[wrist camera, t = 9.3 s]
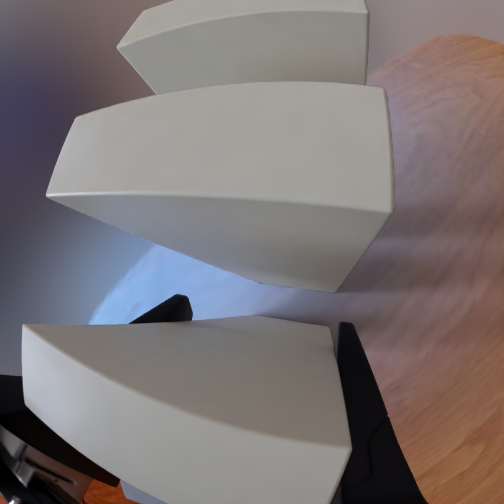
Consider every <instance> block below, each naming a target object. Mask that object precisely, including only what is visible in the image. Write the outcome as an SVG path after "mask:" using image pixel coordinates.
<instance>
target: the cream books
mask: <svg viewBox="0 0 504 504" xmlns="http://www.w3.org/2000/svg"><path fill="white" fill-rule="evenodd" d="M369 21H370V14H369V10H368V6H367V3H366V0H174V1H171V2H168V3H165V4H162V5H159V6H156V7H153V8H150V9H148V10H145V11H143V12H142V14H141V15H140V16H139V17H138V19H137V20H136V21H135V22H134V24H133V25H132V26H131V28H130V29H129V30H128V32H127V33H126V34H125V36H124V37H123V39H122V40H121V41H120V43H119V44H118V46H117V49H118V50H119V51H120V52H121V54H122V55H123V56H124V57H125V58H126V59H127V61H128V62H129V63H130V64H131V65H132V66H133V67H134V68H135V70H136V71H137V72H138V73H139V74H140V76H141V77H142V78H143V79H144V80H145V81H146V83H147V84H148V85H149V86H150V87H151V88H152V89H153V91H154V92H155V93H156V94H157V95H154V96H149V97H145V98H140V99H136V100H132V101H128V102H124V103H120V104H116V105H113V106H109V107H106V108H102V109H99V110H96V111H93V112H90V113H87V114H84V115H81V116H78V117H77V118H76V119H75V121H74V123H73V125H72V127H71V129H70V131H69V134H68V136H67V138H66V141H65V143H64V145H63V149H62V150H61V153H60V155H59V158H58V161H57V163H56V166H55V169H54V172H53V175H52V178H51V181H50V184H49V187H48V190H47V193H46V196H47V197H48V198H50V199H52V200H54V201H56V202H58V203H61V204H63V205H66V206H68V207H70V208H72V209H75V210H77V211H79V212H82V213H84V214H86V215H89V216H91V217H93V218H96V219H98V220H101V221H103V222H105V223H108V224H110V225H113V226H115V227H117V228H120V229H122V230H125V231H127V232H129V233H132V234H134V235H137V236H139V237H142V238H144V239H147V240H150V241H152V242H154V243H157V244H159V245H162V246H164V247H167V248H169V249H172V250H174V251H177V252H179V253H182V254H184V255H187V256H189V257H192V258H195V259H197V260H200V261H202V262H205V263H208V264H210V265H213V266H215V267H218V268H221V269H223V270H226V271H229V272H231V273H234V274H236V275H239V276H242V277H244V278H247V279H250V280H253V281H255V282H258V283H261V284H268V285H275V286H282V287H289V288H297V289H304V290H312V291H319V292H327V293H335V292H336V290H337V289H338V288H339V287H340V285H341V284H342V283H343V281H344V280H345V279H346V278H347V276H348V275H349V274H350V272H351V271H352V270H353V268H354V267H355V266H356V264H357V263H358V262H359V260H360V259H361V258H362V256H363V255H364V253H365V252H366V251H367V249H368V248H369V247H370V245H371V244H372V242H373V241H374V239H375V238H376V237H377V235H378V234H379V232H380V231H381V229H382V228H383V227H384V225H385V224H386V222H387V221H388V219H389V218H390V216H391V215H392V213H393V211H394V209H395V185H394V159H393V144H392V132H391V122H390V113H389V105H388V98H387V92H386V90H385V89H384V88H382V87H376V86H368V85H366V78H367V65H368V48H369Z"/></svg>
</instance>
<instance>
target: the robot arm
mask: <svg viewBox="0 0 504 504" xmlns="http://www.w3.org/2000/svg"><path fill="white" fill-rule="evenodd" d="M192 317H193V312H192V308H191V305H190V302H189V298H188V297H187V296H184V295H180V294H176V295H174V296H172V297H171V298H169V299H167V300H166V301H164V302H163V303H161V304H159V305H158V306H156V307H155V308H153V309H151V310H150V311H148V312H147V313H145V314H143V315H142V316H140V317H138V318H137V319H135V320H134V321H132V322H130V323H129V324H144V323H164V322H180V321H192ZM334 353H335V357H336V361H337V366H338V371H339V376H340V381H341V386H342V391H343V397H344V402H345V408H346V414H347V420H348V426H349V432H350V438H351V445H352V451H351V454H350V457H349V460H348V462H347V465H346V467H345V470H344V472H343V475H342V477H341V480H340V482H339V484H338V487H337V489H336V491H335V494H334V496H333V498H332V500H331V502H330V504H428V502H427V501H426V500H425V498H424V497H423V495H422V494H421V492H420V490H419V488H418V486H417V483H416V481H415V479H414V477H413V474H412V472H411V470H410V468H409V466H408V464H407V462H406V459H405V457H404V455H403V453H402V450H401V448H400V446H399V444H398V441H397V438H396V436H395V433H394V430H393V428H392V425H391V422H390V419H389V417H388V416H387V415H388V413H387V410H386V407H385V405H384V402H383V399H382V396H381V394H380V391H379V388H378V385H377V383H376V380H375V377H374V375H373V372H372V370H371V367H370V364H369V362H368V359H367V357H366V354H365V352H364V349H363V347H362V344H361V342H360V339H359V337H358V335H357V332H356V330H355V327H354V325H353V324H352V323H350V322H340V323H339V325H338V330H337V334H336V338H335V343H334ZM93 479H95V480H98V481H100V482H103V483H105V484H108V485H110V486H113V487H117V486H118V484H119V482H120V480H121V479H120V478H118V477H116V476H115V475H113V474H111V473H110V472H108V471H107V470H105V469H104V468H102V467H101V466H99V465H98V464H96V463H95V462H93V461H92V460H90V459H89V458H87V457H86V456H85V455H83V454H82V453H81V452H79V451H78V450H77V449H75V448H74V447H73V446H71V445H70V444H69V443H67V442H66V441H65V440H64V439H63V438H61V437H60V436H59V435H58V434H56V433H55V432H54V431H53V430H52V429H51V428H50V427H48V426H47V425H46V424H45V423H44V422H43V421H42V420H41V419H40V418H38V417H37V416H36V415H35V414H34V413H33V412H32V411H31V410H30V409H29V408H28V407H27V406H26V405H25V402H24V392H23V376H10V375H0V494H1V495H2V496H3V498H4V499H5V500H6V501H7V502H8V504H81V501H82V499H83V497H84V495H85V493H86V492H87V490H88V488H89V486H90V484H91V482H92V481H93Z"/></svg>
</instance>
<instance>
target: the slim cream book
mask: <svg viewBox="0 0 504 504" xmlns="http://www.w3.org/2000/svg"><path fill="white" fill-rule="evenodd" d="M22 329H23V330H22V376H23V392H24V402H25V405H26V406H27V407H28V408H29V409H30V410H31V411H32V412H33V413H34V414H35V415H36V416H37V417H38V418H40V419H41V420H42V421H43V422H44V423H45V424H46V425H47V426H48V427H50V428H51V429H52V430H53V431H54V432H55V433H56V434H58V435H59V436H60V437H61V438H63V439H64V440H65V441H66V442H67V443H69V444H70V445H71V446H73V447H74V448H75V449H77V450H78V451H79V452H81V453H82V454H83V455H85V456H86V457H87V458H89V459H90V460H92V461H93V462H95V463H96V464H98V465H99V466H101V467H102V468H104V469H105V470H107V471H108V472H110V473H111V474H113V475H115V476H116V477H118V478H120V479H121V480H123V481H125V482H126V483H128V484H130V485H132V486H134V487H135V488H137V489H139V490H141V491H143V492H145V493H147V494H149V495H151V496H153V497H155V498H157V499H159V500H161V501H163V502H165V503H168V504H330V502H331V500H332V498H333V496H334V494H335V491H336V489H337V487H338V484H339V482H340V480H341V477H342V475H343V472H344V470H345V467H346V465H347V462H348V460H349V457H350V454H351V451H352V445H351V438H350V432H349V426H348V420H347V414H346V408H345V402H344V397H343V391H342V386H341V381H340V376H339V371H338V366H337V361H336V357H335V353H334V346H333V342H332V337H331V333H330V328H329V327H328V326H321V325H314V324H307V323H301V322H295V321H288V320H282V319H276V318H271V317H265V316H259V315H248V316H239V317H229V318H218V319H206V320H194V321H180V322H164V323H144V324H116V325H41V324H23V328H22Z"/></svg>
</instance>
